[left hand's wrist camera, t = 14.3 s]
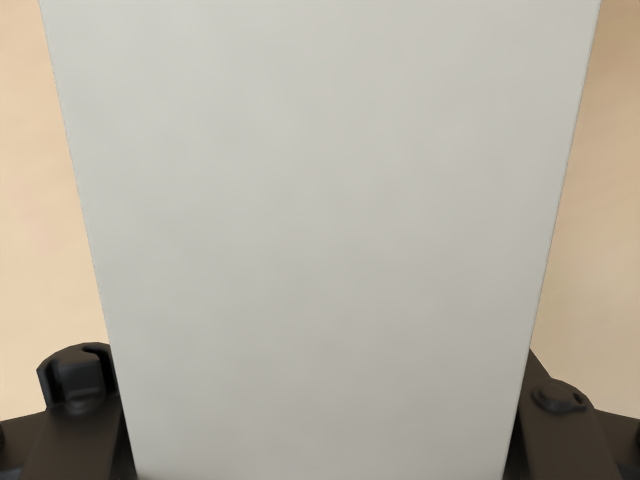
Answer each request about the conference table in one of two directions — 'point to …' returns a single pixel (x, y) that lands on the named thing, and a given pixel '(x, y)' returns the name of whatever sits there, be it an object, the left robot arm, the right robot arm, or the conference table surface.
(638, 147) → the conference table surface
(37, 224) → the conference table surface
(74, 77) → the bar
